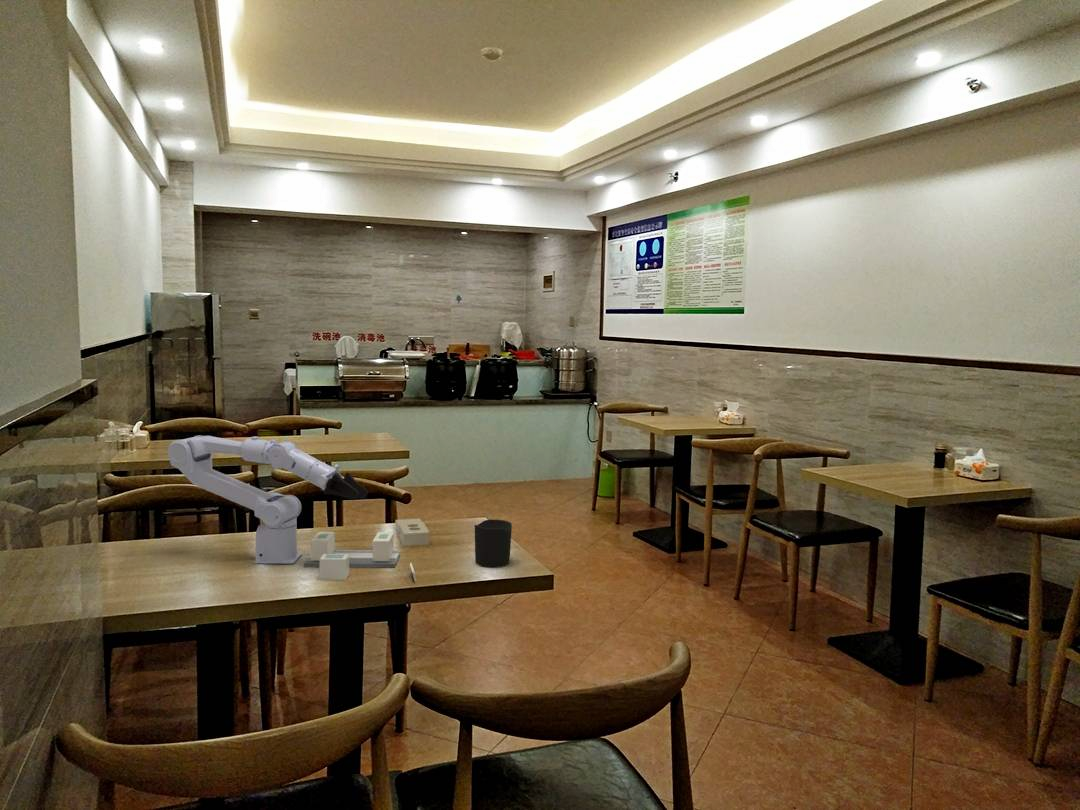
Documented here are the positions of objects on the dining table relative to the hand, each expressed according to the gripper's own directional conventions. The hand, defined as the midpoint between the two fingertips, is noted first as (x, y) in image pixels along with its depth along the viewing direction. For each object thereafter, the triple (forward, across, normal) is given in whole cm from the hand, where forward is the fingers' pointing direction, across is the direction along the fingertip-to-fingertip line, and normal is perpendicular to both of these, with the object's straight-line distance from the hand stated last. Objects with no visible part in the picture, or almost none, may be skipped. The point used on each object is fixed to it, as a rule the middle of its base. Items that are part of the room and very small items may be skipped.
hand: (361, 495), depth 183 cm
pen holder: (+36, +10, +1) cm, 37 cm away
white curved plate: (+20, -4, +12) cm, 24 cm away
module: (+5, -6, +19) cm, 20 cm away
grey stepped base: (+4, +6, +16) cm, 18 cm away
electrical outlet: (+11, +30, +9) cm, 33 cm away
